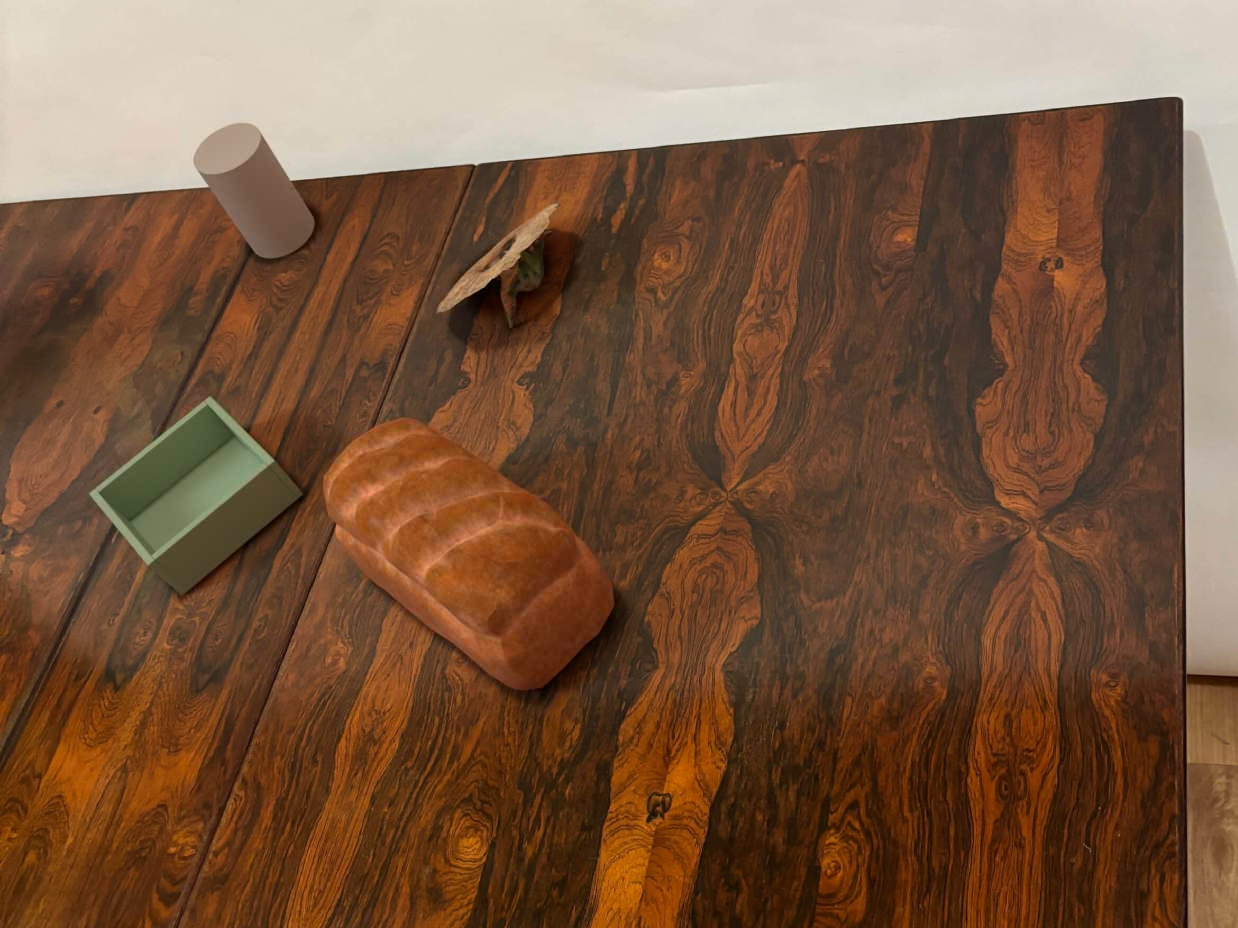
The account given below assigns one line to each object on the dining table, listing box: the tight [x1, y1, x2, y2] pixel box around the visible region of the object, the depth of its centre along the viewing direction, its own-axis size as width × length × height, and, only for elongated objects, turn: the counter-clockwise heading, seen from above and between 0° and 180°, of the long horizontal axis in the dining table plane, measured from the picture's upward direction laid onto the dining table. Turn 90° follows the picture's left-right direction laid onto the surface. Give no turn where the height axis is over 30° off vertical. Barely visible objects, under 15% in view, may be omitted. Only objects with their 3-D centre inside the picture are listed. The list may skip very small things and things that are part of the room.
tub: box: [88, 395, 304, 596], centre depth 118 cm, size 16×14×6 cm
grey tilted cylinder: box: [193, 122, 315, 259], centre depth 134 cm, size 8×8×12 cm
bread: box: [322, 417, 615, 691], centre depth 102 cm, size 14×26×16 cm, turn 47°
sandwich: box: [436, 202, 561, 329], centre depth 123 cm, size 18×14×8 cm
